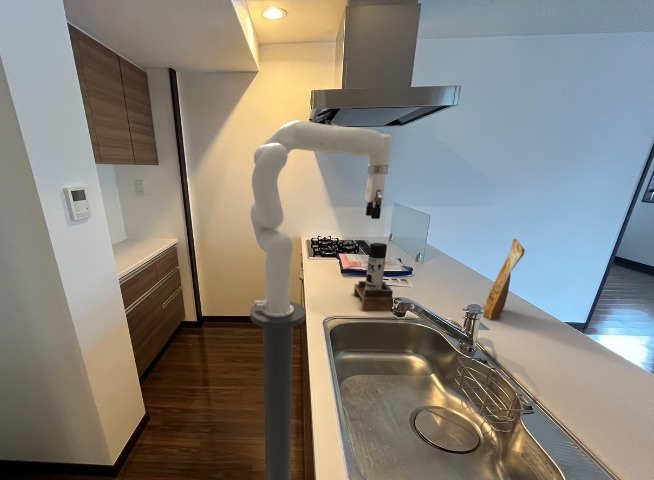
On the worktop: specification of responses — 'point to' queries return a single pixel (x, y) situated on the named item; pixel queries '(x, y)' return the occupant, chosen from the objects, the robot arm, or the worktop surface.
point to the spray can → (375, 266)
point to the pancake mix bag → (503, 283)
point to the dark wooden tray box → (375, 297)
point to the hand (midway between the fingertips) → (372, 217)
